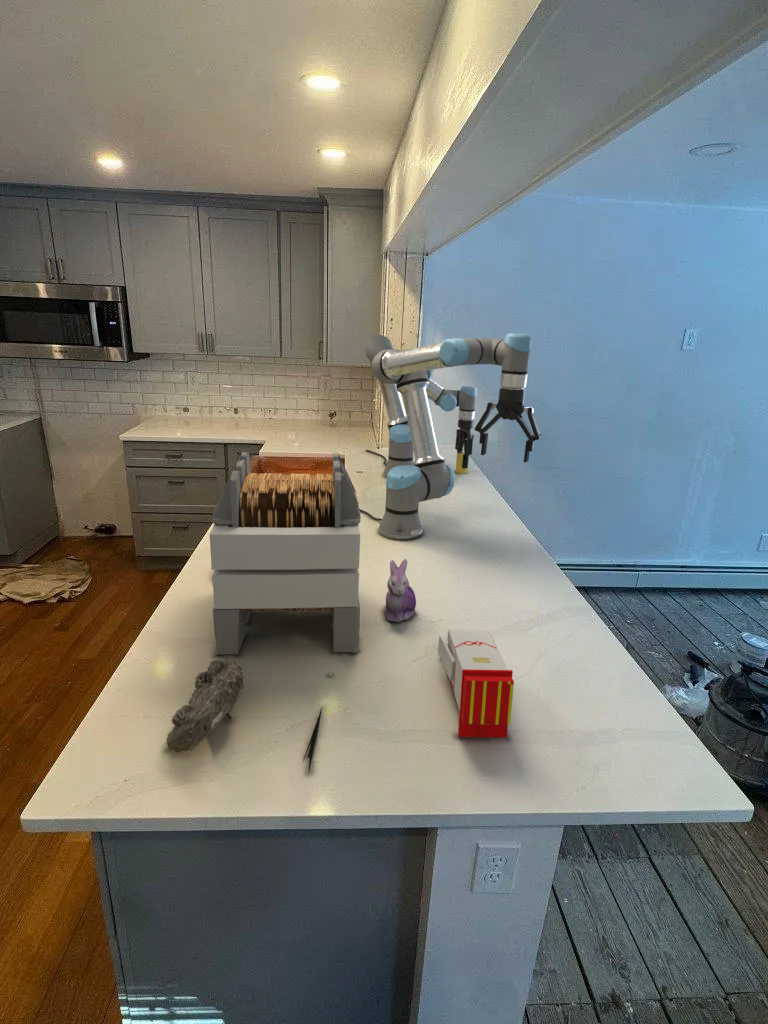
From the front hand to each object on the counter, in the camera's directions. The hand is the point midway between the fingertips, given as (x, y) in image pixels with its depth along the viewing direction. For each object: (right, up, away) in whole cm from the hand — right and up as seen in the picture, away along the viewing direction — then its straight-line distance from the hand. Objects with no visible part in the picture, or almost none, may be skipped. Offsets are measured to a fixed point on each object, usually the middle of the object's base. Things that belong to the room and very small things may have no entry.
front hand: (504, 457), depth 175 cm
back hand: (+1, +6, +104) cm, 104 cm away
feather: (-50, -56, -66) cm, 100 cm away
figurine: (-33, -43, -28) cm, 61 cm away
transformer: (-61, -43, -31) cm, 81 cm away
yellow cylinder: (+1, +3, +105) cm, 105 cm away
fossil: (-70, -56, -67) cm, 112 cm away
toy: (-19, -54, -56) cm, 81 cm away
